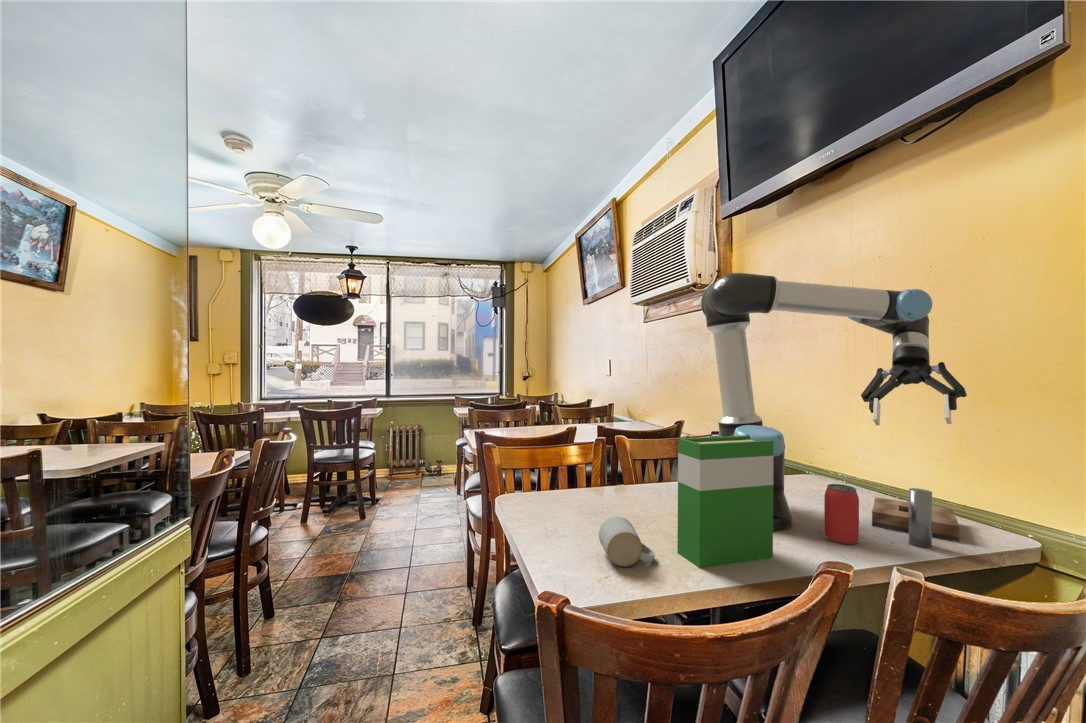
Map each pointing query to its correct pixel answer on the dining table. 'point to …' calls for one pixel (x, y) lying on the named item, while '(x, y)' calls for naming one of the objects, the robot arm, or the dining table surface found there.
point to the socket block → (897, 518)
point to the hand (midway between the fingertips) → (910, 421)
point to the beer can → (841, 514)
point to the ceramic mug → (623, 542)
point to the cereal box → (725, 500)
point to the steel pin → (920, 518)
